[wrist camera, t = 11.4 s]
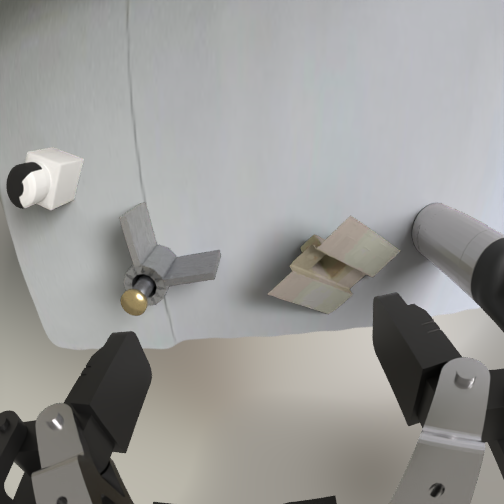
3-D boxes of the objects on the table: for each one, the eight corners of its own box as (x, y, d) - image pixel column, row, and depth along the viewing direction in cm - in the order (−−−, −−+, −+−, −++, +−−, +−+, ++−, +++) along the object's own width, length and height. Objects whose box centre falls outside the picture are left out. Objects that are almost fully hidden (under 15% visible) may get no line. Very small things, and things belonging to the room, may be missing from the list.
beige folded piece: (371, 211, 49) (330, 182, 38) (403, 250, 45) (373, 232, 33) (304, 274, 56) (248, 267, 45) (329, 314, 52) (277, 318, 41)
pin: (167, 251, 48) (140, 290, 36) (173, 271, 49) (149, 314, 37) (147, 254, 48) (116, 293, 36) (153, 274, 49) (126, 316, 37)
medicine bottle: (43, 186, 44) (-2, 204, 33) (52, 146, 41) (5, 155, 30) (74, 200, 45) (31, 221, 33) (85, 158, 42) (40, 169, 31)
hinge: (206, 188, 44) (195, 200, 37) (224, 270, 49) (219, 296, 41) (125, 206, 45) (103, 221, 38) (148, 282, 50) (132, 307, 42)
